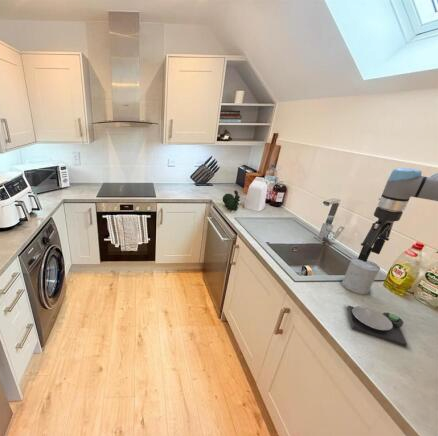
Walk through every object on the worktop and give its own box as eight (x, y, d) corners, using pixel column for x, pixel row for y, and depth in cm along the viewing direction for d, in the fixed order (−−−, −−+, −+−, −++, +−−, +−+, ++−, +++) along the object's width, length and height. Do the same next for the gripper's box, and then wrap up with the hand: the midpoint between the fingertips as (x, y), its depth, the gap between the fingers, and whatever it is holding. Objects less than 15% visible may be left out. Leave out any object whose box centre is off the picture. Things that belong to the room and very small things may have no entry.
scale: (397, 322, 88) (400, 316, 87) (409, 348, 78) (413, 342, 77) (347, 306, 95) (349, 301, 94) (352, 329, 85) (355, 323, 84)
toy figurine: (240, 215, 187) (229, 202, 209) (245, 193, 178) (233, 181, 199) (228, 215, 186) (218, 202, 208) (232, 193, 177) (222, 182, 199)
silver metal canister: (373, 296, 101) (385, 272, 96) (346, 291, 104) (356, 268, 99) (362, 282, 109) (373, 260, 104) (338, 278, 112) (347, 256, 107)
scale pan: (387, 314, 88) (387, 313, 88) (396, 335, 79) (397, 334, 79) (350, 303, 93) (350, 302, 93) (355, 322, 84) (355, 321, 84)
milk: (244, 207, 198) (249, 177, 188) (250, 204, 205) (255, 175, 195) (258, 211, 190) (264, 180, 179) (264, 208, 197) (270, 177, 187)
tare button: (396, 318, 87) (397, 315, 86) (398, 322, 85) (399, 320, 84) (386, 315, 88) (388, 312, 87) (388, 319, 86) (390, 317, 85)
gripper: (389, 201, 99) (370, 245, 108) (363, 211, 89) (344, 259, 98) (414, 206, 93) (391, 253, 102) (389, 217, 83) (366, 269, 92)
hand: (368, 256), depth 100 cm, fingers open, 11 cm apart
